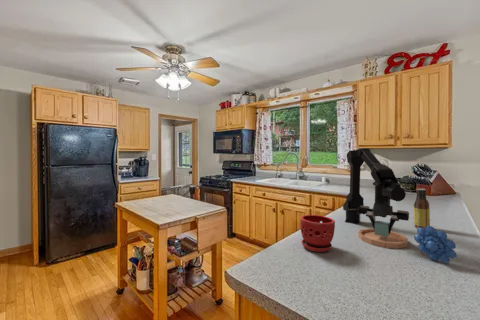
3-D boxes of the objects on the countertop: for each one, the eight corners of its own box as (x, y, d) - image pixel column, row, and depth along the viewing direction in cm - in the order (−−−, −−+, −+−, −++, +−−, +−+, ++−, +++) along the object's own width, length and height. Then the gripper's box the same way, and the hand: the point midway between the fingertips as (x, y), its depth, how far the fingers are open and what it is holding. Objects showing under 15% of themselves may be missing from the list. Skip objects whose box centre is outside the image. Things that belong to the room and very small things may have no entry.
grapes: (410, 257, 82) (410, 225, 82) (416, 252, 86) (416, 221, 86) (453, 270, 73) (454, 234, 72) (458, 264, 77) (458, 229, 76)
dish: (354, 240, 98) (354, 236, 98) (363, 230, 112) (363, 226, 112) (405, 252, 87) (405, 246, 87) (408, 238, 100) (408, 234, 100)
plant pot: (329, 257, 82) (329, 225, 82) (295, 248, 90) (295, 219, 90) (338, 246, 93) (338, 217, 93) (307, 239, 101) (307, 212, 101)
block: (374, 234, 99) (374, 223, 99) (376, 231, 103) (376, 220, 103) (388, 237, 96) (388, 225, 96) (389, 233, 100) (389, 222, 100)
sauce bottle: (424, 226, 118) (424, 188, 117) (433, 230, 111) (433, 190, 111) (410, 225, 118) (411, 188, 118) (418, 229, 112) (419, 190, 112)
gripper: (354, 196, 99) (354, 232, 99) (407, 202, 87) (407, 242, 87) (360, 193, 107) (360, 225, 108) (409, 198, 95) (409, 234, 96)
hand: (382, 231), depth 99 cm, fingers closed on block, 5 cm apart
